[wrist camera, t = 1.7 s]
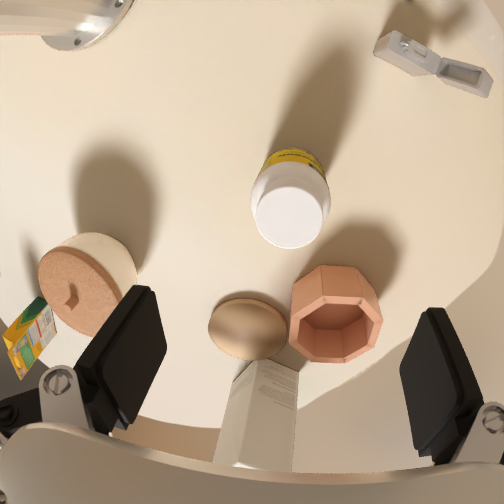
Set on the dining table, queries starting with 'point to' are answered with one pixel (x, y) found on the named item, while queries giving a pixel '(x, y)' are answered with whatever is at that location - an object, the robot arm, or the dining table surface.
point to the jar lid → (247, 329)
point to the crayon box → (29, 335)
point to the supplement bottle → (290, 198)
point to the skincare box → (260, 419)
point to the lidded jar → (86, 279)
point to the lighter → (431, 64)
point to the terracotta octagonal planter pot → (334, 315)
